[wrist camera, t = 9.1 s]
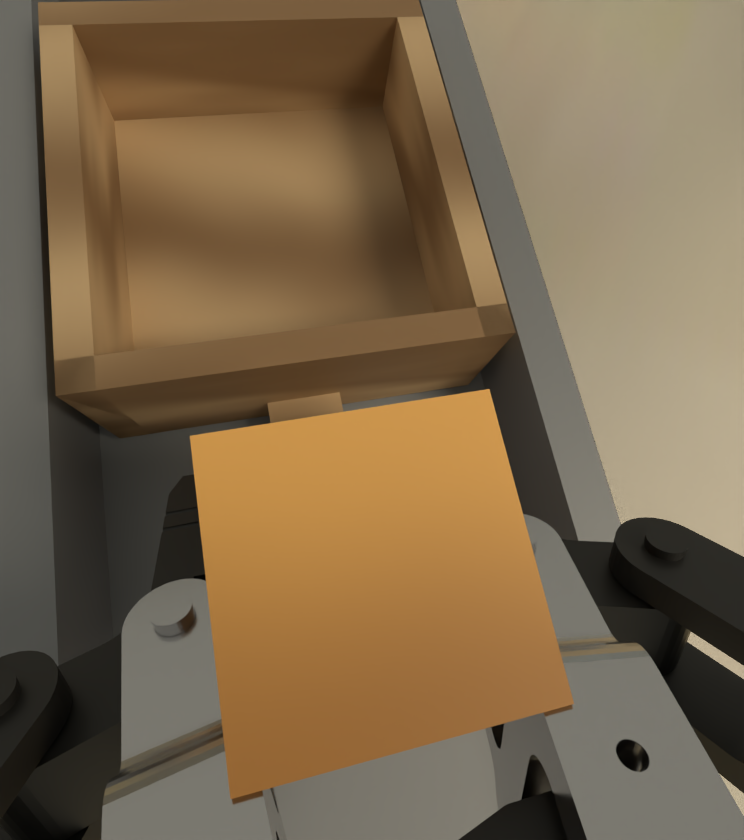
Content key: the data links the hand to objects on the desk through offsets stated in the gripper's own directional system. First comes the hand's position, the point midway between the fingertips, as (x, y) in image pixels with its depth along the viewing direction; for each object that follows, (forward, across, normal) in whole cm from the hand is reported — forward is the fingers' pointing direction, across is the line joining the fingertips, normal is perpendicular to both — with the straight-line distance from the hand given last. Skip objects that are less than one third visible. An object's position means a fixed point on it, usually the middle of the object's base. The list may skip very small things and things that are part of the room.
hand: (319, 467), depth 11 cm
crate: (+6, 0, -1) cm, 6 cm away
